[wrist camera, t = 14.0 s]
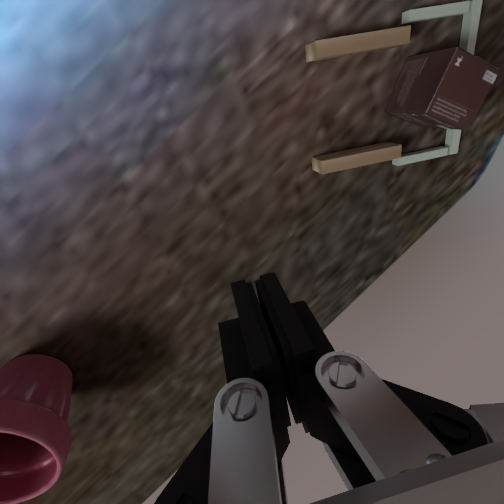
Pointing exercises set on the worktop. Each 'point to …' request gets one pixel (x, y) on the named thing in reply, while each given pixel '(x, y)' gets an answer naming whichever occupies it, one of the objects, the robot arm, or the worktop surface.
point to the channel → (350, 47)
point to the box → (441, 89)
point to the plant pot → (33, 425)
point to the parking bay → (466, 42)
